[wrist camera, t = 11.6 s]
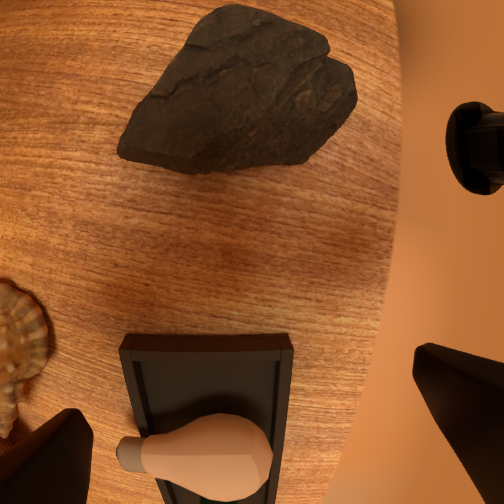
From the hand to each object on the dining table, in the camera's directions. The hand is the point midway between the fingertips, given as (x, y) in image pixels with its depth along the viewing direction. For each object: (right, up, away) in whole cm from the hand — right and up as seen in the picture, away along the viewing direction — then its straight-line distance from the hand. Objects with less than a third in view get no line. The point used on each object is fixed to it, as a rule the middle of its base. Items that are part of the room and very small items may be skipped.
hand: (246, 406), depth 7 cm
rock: (-1, +12, +9) cm, 15 cm away
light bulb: (-5, -9, +13) cm, 17 cm away
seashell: (-18, -4, +12) cm, 22 cm away
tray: (-3, -17, +17) cm, 24 cm away
